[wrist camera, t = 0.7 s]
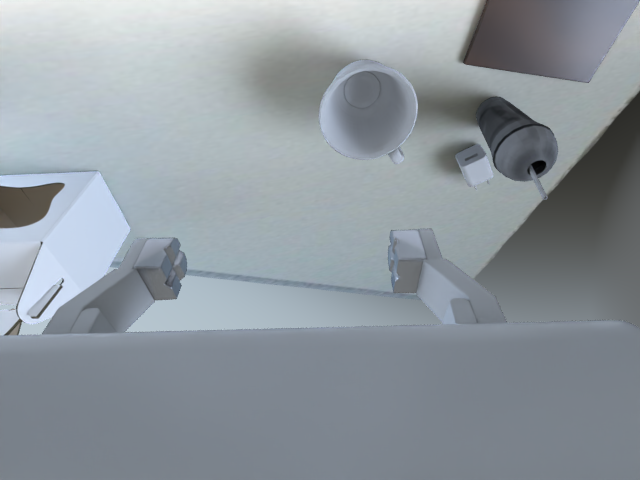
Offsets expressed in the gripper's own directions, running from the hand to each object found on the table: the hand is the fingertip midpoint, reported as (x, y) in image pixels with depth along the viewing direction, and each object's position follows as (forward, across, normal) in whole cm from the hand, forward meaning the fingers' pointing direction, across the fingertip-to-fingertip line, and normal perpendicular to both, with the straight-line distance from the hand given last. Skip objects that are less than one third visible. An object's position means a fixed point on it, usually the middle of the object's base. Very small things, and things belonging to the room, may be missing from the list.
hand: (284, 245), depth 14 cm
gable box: (+42, +48, +29) cm, 70 cm away
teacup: (+42, -8, +11) cm, 45 cm away
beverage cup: (+42, -26, +15) cm, 52 cm away
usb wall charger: (+42, -26, +24) cm, 55 cm away
